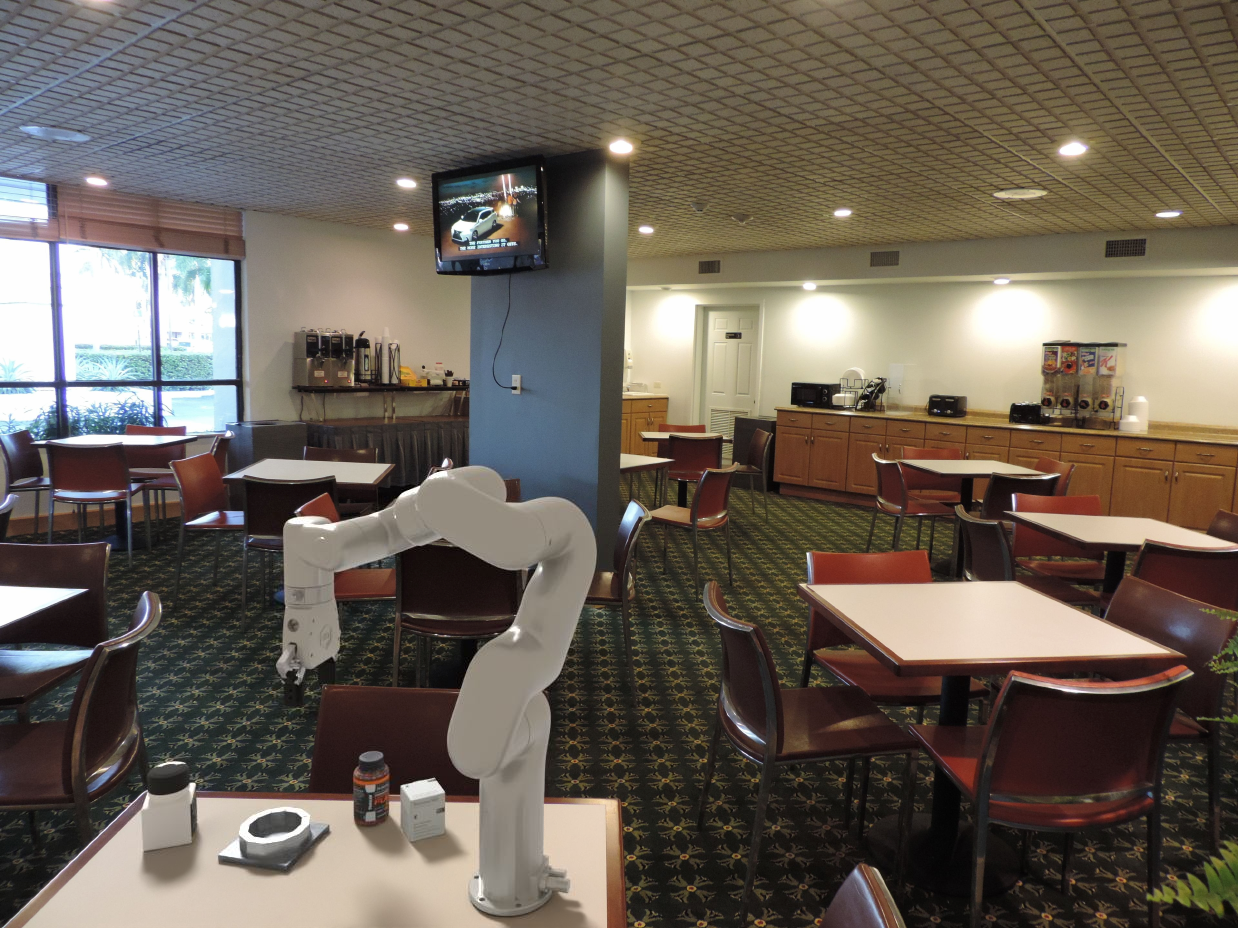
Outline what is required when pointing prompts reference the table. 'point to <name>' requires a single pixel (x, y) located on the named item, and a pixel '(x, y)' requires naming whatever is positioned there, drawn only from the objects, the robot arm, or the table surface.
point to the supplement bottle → (371, 789)
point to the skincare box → (422, 809)
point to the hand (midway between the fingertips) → (311, 694)
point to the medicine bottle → (169, 807)
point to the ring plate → (277, 861)
